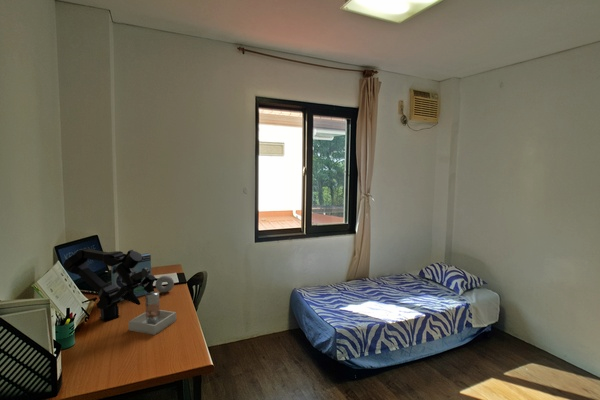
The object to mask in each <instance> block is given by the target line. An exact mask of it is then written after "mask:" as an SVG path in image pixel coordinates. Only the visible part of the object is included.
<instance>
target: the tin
mask: <svg viewBox="0 0 600 400" xmlns="http://www.w3.org/2000/svg"><path fill="white" fill-rule="evenodd" d="M144 297H145V302H144V303H145V304H144V305H145V312H146V324H152V325H155V324H157V323H158V322H160V310H161V309H160V307H161V305H160V302H161V301H160V292H159V291H158V290H157V291H156V290H154V291H153V292H148V293H146V294H145V295H144Z"/></svg>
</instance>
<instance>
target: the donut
mask: <svg viewBox="0 0 600 400" xmlns="http://www.w3.org/2000/svg"><path fill="white" fill-rule="evenodd" d="M156 279H157V280H156V281H155V284H154V285H155V290H157V292H159V293H163V294H164V293H168V292H170V291H171V290H172V289H173V288H174V285H175V281H174V279H173V277H171V276H169V275H162V276H160V277H159V278H156ZM164 282H166V283H167V285H165V286H163V285H162V284H163V283H164Z"/></svg>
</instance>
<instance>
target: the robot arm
mask: <svg viewBox="0 0 600 400" xmlns="http://www.w3.org/2000/svg"><path fill="white" fill-rule="evenodd" d="M88 260H93V261H99V262H102V263H103V264H104V265H106V266H108V267H111V266H114V265H117V264H119V265H118V266H117V267H114V268H113V274H114V273H118V274H119V276H120V277H121V278H122V281H121V282H122V283H124V282H125V284H126V286H123V287H121V288H118V287H117V286H116V285H115V284H112V283H111V284H107V283H106V282H105V281H104V280H103V279H101V278H100V276H98V275H97V273H95V272H94V271H93V270H92V269H90V268H89V266H88ZM141 260H142V255H141V253H140V252H138V251H135V250H134V249H130V250H128V251H127V253H124V252H122V251H119V250H118V251H117V250H115V251H109V252H108V251H102V250H97V249H91V248H90V247H89V248H88V247H87V248H82V249H79V250H77V251H76V252H75V253H74V254H72V255H70V257H68V258H66V259H65V260H64V261H63V265H62V267H63V268H64V270H66V271H67V272H68V273H70V274H73V275H77V276H79V277H80V278H81V279H82V280H83V281H85V283H87V285H89V287H91V288H92V289H93V290H94V291H96V292H97V293H98V299H99V300H98V301H97V303H96V307H97V309H100V316H99V319H100V320H101V321H103V322H109V321H112V320H115V319H116V318H117V319H118V318H119V317H121V316H120V315H119V305H118V304H119V303H121V301H120V300H121V299H124V300H123V301H127V302H130V303H132V304H135V305H137V306H140V305H142V304H141V301H140V300H139V299H138V297H136V296H135V294H134V289H136V288H138V287H140V286H142V287H144V290H145V291H146V292H153V291H155V288H154V282H156V281H155V280H156V279H157V278H156V276H155V275H154V274H151V275H150V276H149V273H150V270H149V269H148V268H147V267H146V268H143V269H142V271H141V272H137V271H133V269H132V268H134V267H135V266H136V265H137V264H138V263H139V262H140V261H141ZM120 263H121V264H120ZM146 276H147V277H146ZM144 277H146V278H145V279H144ZM143 279H144V280H143ZM141 280H143V281H141Z"/></svg>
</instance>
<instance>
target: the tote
mask: <svg viewBox="0 0 600 400" xmlns="http://www.w3.org/2000/svg"><path fill="white" fill-rule="evenodd" d="M176 321H177V312H176V311H170V310H164V309H160V322H158V323H157V324H155V325H152V324H146V311H145V312H143V313H141V314H140V315H138V316H135V317H134V318H132V319H130V320H129V321H127V322H128V331H131V332H132V331H133V332H136V333H141V334H142V333H143V334H146V335H147V334H148V335H153V336H156V335H157V334H159V333H160V332H162V331H163V330H164V329H166V328H167V327H169V326H170V325H172V324H173V323H175V322H176Z"/></svg>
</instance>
